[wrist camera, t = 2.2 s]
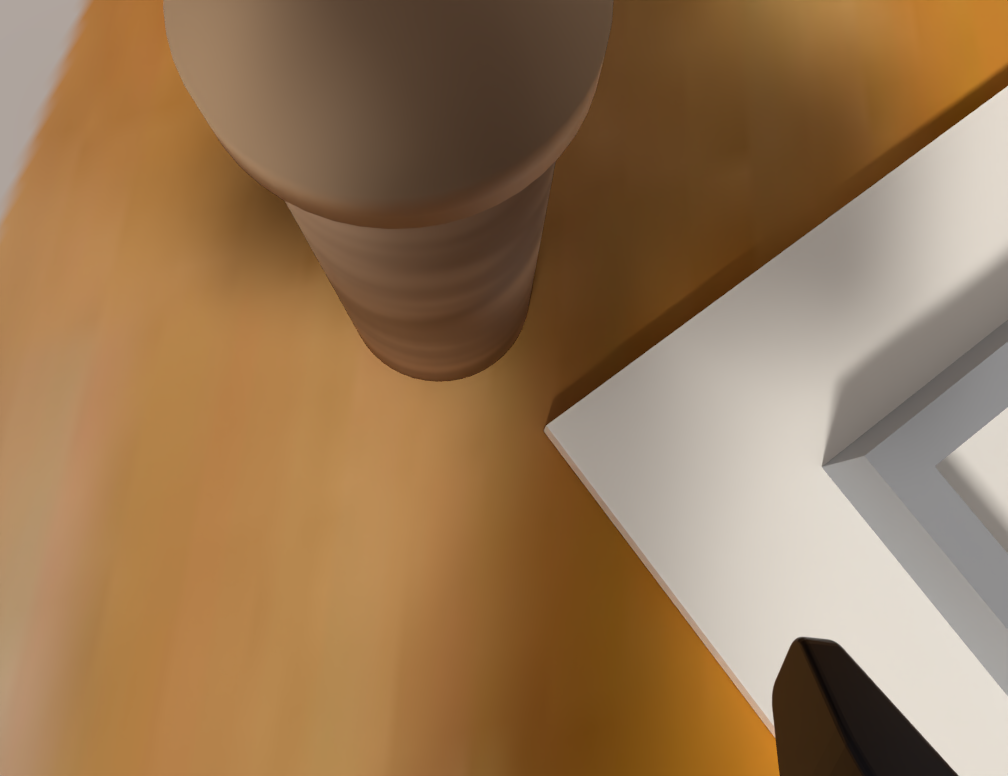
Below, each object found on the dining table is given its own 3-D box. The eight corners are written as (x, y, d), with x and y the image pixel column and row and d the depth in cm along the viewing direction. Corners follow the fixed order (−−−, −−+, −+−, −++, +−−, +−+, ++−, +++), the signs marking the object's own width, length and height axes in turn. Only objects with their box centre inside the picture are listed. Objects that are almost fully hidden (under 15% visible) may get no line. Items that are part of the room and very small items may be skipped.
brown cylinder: (415, 437, 23) (330, 288, 10) (295, 272, 24) (77, -57, 11) (584, 315, 24) (704, 35, 11) (462, 161, 24) (441, -266, 12)
